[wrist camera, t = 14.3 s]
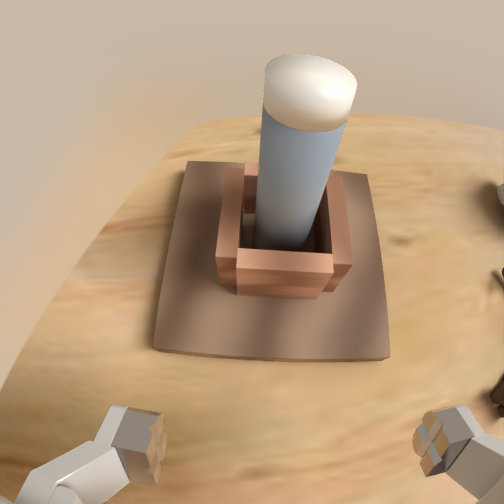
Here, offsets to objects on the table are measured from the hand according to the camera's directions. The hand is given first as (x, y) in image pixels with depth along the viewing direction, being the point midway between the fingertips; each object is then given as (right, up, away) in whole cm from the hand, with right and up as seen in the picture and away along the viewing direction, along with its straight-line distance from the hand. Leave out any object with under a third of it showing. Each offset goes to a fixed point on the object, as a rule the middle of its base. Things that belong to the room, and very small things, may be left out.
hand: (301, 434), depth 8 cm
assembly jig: (0, +5, +16) cm, 17 cm away
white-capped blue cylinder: (0, +6, +15) cm, 16 cm away
